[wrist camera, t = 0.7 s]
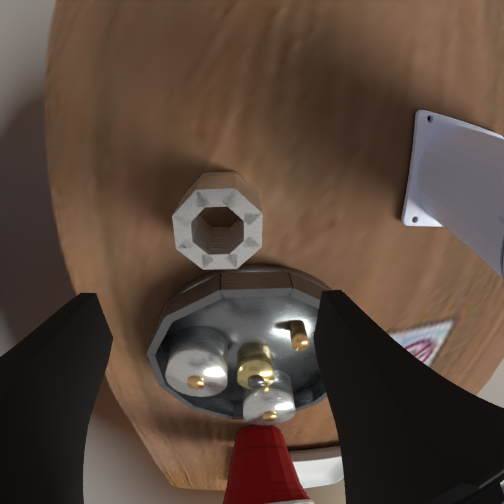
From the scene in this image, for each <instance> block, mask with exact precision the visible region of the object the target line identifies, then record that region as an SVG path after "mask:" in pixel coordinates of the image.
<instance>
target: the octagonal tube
mask: <svg viewBox="0 0 504 504" xmlns="http://www.w3.org/2000/svg"><path fill="white" fill-rule="evenodd" d="M205 207H229V208H230V209H231V210H232V211H233V212H234V213H235V214H236V215H238V216H239V217H240V218H239V219H238V220H237V221H236V222H235V223H234V224H233V225H232V226H231V227H212V226H211V225H210V224H209V223H207V222H206V221H205V220H204V219H203V218H202V217H200V212H201V211H202V210H203V209H204V208H205ZM172 219H173V228H174V236H175V243H176V249H177V250H178V251H180V252H181V253H182V254H183V255H185V256H186V257H187V258H189V259H190V260H191V261H192V262H194V263H195V264H196V265H198V266H199V267H200V268H201V269H203V270H207V269H238V268H239V267H240V266H241V265H242V264H243V263H244V262H245V261H247V260H248V259H249V258H250V257H251V256H252V255H253V254H254V253H256V252H257V251H258V250H259V249H260V248H261V247H262V209H261V205H260V200H259V195H258V192H257V191H256V190H255V189H254V188H253V187H252V186H251V185H250V184H249V183H247V182H246V181H245V180H244V179H243V178H242V177H241V176H240V175H239V174H238V173H237V172H204V173H203V174H202V175H201V176H200V177H199V178H198V179H197V180H196V182H195V183H194V184H193V185H192V186H191V187H190V188H189V189H188V190H187V191H186V192H185V194H184V195H183V197H182V199H181V200H180V202H179V204H178V206H177V208H176V210H175V212H174V214H173V215H172Z"/></svg>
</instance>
